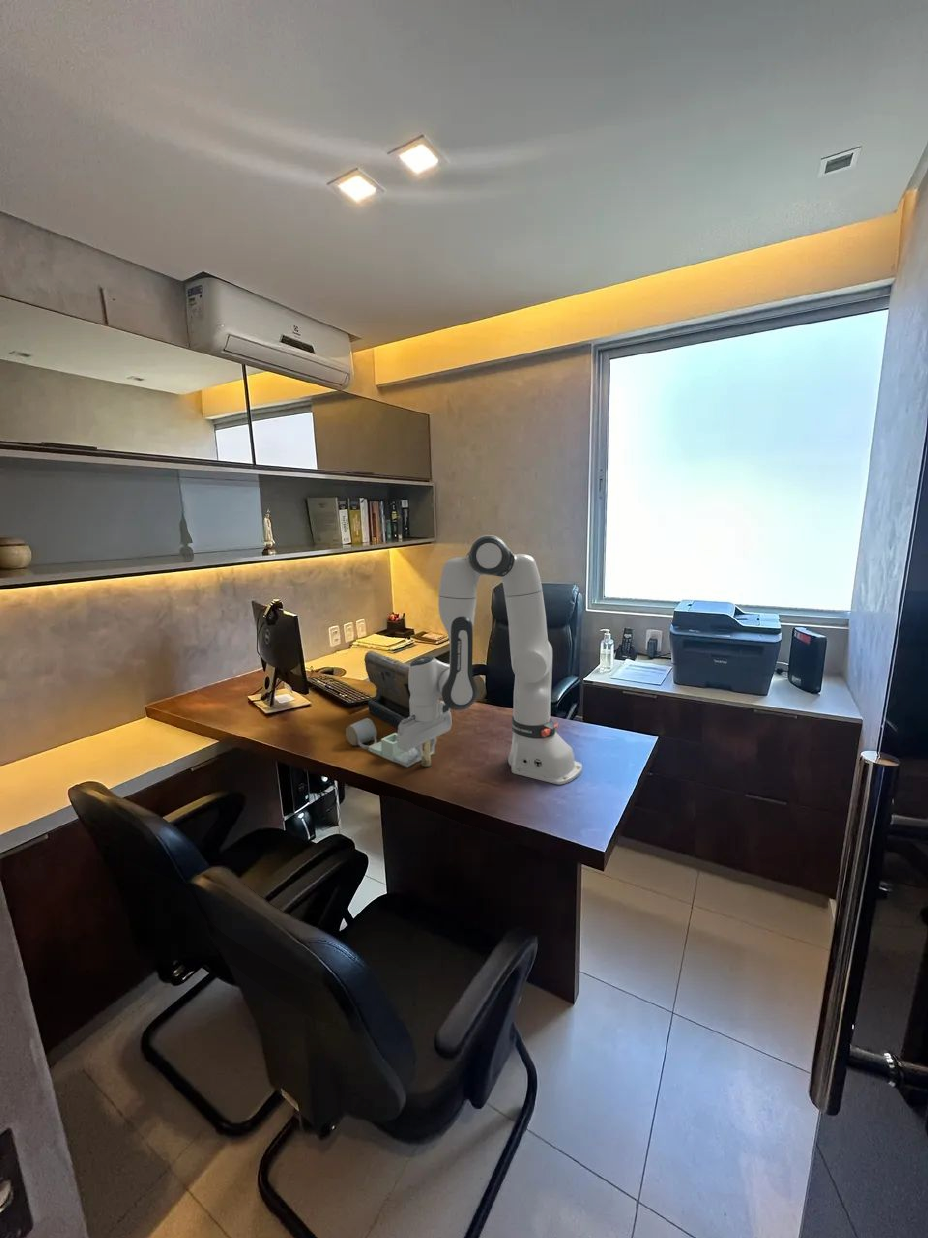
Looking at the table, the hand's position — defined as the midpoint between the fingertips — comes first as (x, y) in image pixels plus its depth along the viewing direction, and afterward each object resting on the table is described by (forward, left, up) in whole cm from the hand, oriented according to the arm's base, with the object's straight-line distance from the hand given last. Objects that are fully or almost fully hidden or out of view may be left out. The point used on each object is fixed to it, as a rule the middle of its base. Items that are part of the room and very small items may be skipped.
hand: (426, 753), depth 149 cm
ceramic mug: (+27, +2, -4) cm, 28 cm away
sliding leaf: (+9, -1, -4) cm, 10 cm away
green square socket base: (+16, -1, -4) cm, 16 cm away
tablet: (+33, -19, -4) cm, 38 cm away
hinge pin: (0, 0, -4) cm, 4 cm away
